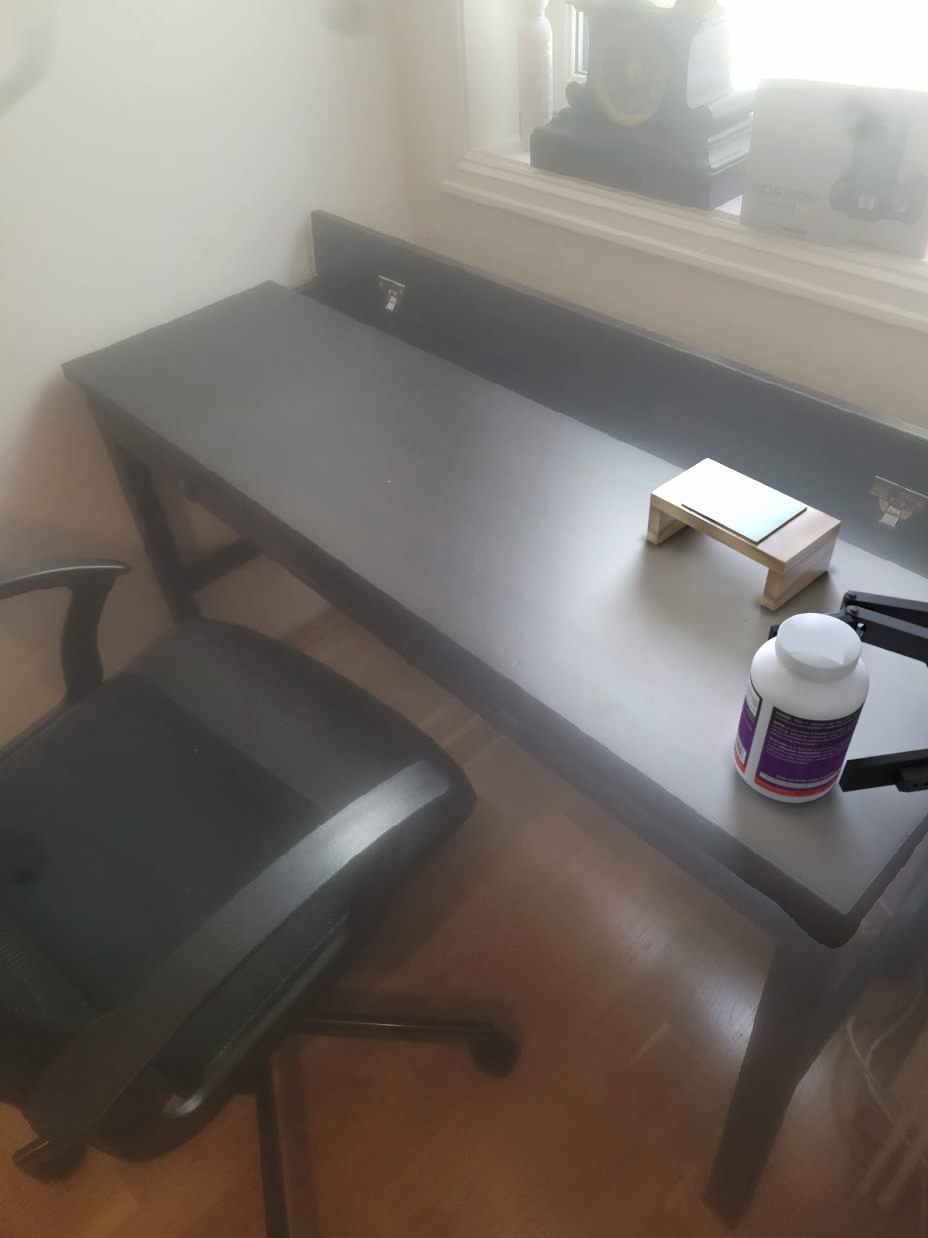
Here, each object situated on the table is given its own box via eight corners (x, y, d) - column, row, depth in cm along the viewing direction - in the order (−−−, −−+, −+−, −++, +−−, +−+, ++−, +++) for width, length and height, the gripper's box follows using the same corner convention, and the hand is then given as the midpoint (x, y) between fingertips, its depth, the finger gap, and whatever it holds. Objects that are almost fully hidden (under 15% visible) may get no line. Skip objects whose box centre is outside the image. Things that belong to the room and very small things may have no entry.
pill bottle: (858, 777, 68) (909, 648, 59) (786, 827, 66) (827, 700, 56) (779, 713, 74) (814, 585, 64) (709, 757, 71) (735, 630, 61)
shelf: (828, 569, 87) (842, 519, 82) (773, 611, 83) (785, 561, 79) (700, 503, 96) (707, 456, 92) (646, 538, 92) (650, 490, 88)
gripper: (1170, 832, 59) (869, 878, 58) (969, 595, 77) (737, 627, 76) (1229, 765, 54) (900, 813, 53) (998, 528, 72) (751, 561, 71)
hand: (803, 703), depth 65 cm, fingers open, 13 cm apart
